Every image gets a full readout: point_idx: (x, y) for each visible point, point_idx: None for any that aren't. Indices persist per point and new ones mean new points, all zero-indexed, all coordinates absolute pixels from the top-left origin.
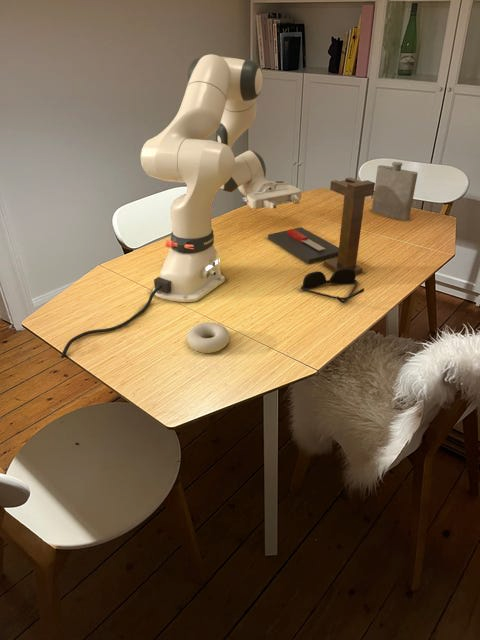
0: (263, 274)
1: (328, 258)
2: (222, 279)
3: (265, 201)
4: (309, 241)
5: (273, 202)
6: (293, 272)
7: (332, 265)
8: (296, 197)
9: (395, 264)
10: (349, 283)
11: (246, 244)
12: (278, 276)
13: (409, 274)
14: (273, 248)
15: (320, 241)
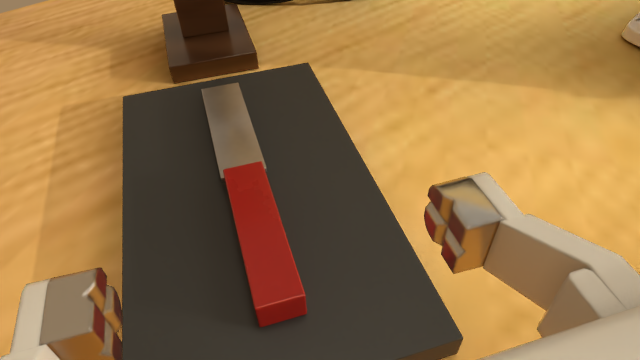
0: (487, 51)
1: None
2: (631, 20)
3: (606, 249)
4: (233, 151)
5: (471, 209)
6: (380, 50)
7: (244, 30)
8: (18, 344)
9: (24, 49)
10: (241, 1)
11: None
12: (436, 40)
13: (49, 14)
14: None
15: (158, 179)
